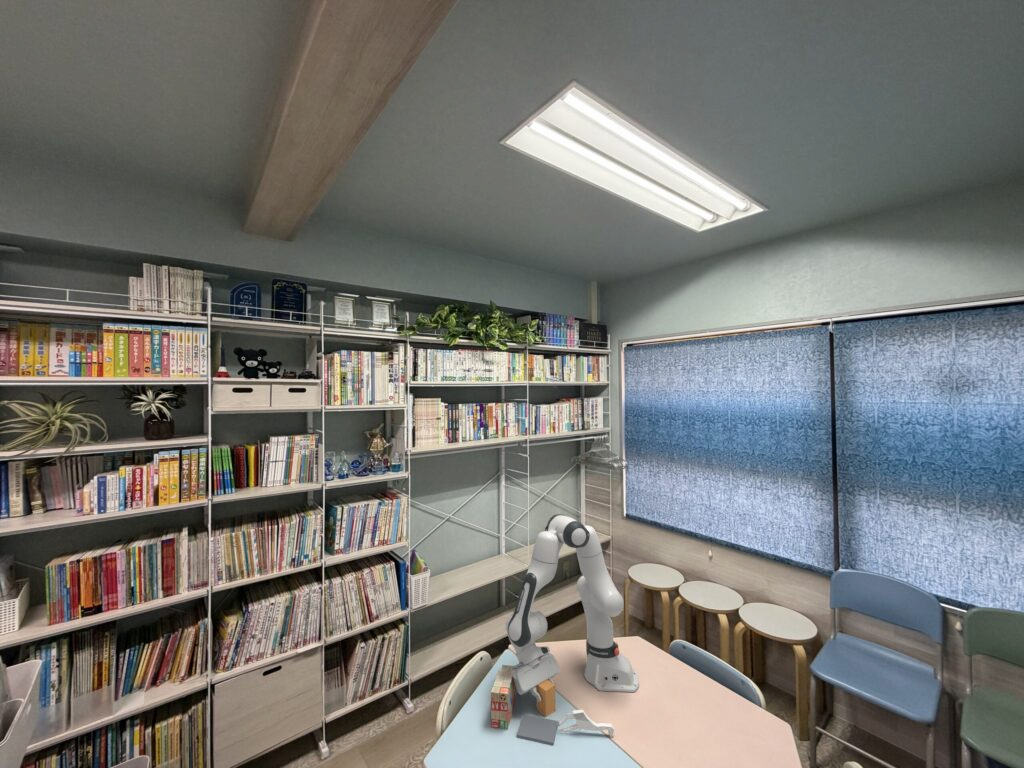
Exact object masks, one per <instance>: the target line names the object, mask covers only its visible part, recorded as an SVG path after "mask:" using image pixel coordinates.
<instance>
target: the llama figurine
mask: <svg viewBox="0 0 1024 768" xmlns="http://www.w3.org/2000/svg"><path fill="white" fill-rule="evenodd" d="M570 719H571V720H572V719H574V720H575V721H576V723H574V724H572V725H568V726H565V727H561V725H563V724H565V722H567V720H570ZM557 721H558V727H561V728H560V729H559V730H560V732H559V733H560V734H563V733H566V732H567V733H568V732H569V731H573V730H579V731H581V730H585V731H594V732H599V731H608V732H607V733H608V734H609V736H610V738H612V737H613V735H614V733H615V732H614V731H615V727H614V725H613V724H612V723H605V722H599V723H596V722H594V721H593V720H592V719H591V718H590V717H589V716H588V715H587V713H586V712H585V711H584V709H576V710H572V711H571V713H566V715H565V716H564V717H563V718H562V719H561V720H557Z"/></svg>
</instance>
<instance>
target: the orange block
mask: <svg viewBox="0 0 1024 768" xmlns="http://www.w3.org/2000/svg"><path fill="white" fill-rule="evenodd" d="M536 689H537V690H536V692H537V693H538V694H539V695H540V694H541V695H542V697H543V700H542V701H540V702H538V701H537V700H536V710H537V711H538V712H540V713H541V714H542V715H543V716H544V717H549V715H551V714H552V713H554V712H555V711H556V684H554V682H553V683H551V682H550V681H549V680H546V681H544V682H542V683H540V684H539V685H537V687H536Z"/></svg>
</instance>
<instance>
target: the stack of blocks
mask: <svg viewBox="0 0 1024 768" xmlns="http://www.w3.org/2000/svg"><path fill="white" fill-rule="evenodd" d="M513 666H514V665H509V664H502V665H501V669H500V670H498V671H497V672H496V676H495V681H494V682H493V686H492V688H491V691H490V714H491V715H490V728H493V729H502V730H508V729H509V726H510V723H511V719H512V715H513V711H514V710H513V709H514V705H515V701H516V699H517V698H516V697H517V694H518V691H517V689H516V685H515V682H514V679H513V676H512V674H511V670H512V668H513Z"/></svg>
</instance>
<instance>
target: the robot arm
mask: <svg viewBox="0 0 1024 768" xmlns="http://www.w3.org/2000/svg"><path fill="white" fill-rule="evenodd" d="M599 538H600V537H598V533H597V532H596V530H595V528H594V527H593V526H591V525H587V524H586V525H585V524H583V523H581V522H580V521H578V520H577V519H575V518H573V517H571V516H566V515H565V514H561V513H560V514H559V513H557V514H554V515H552V516H551V517H550V518H549V520H548V522H547V525H546V526H545V528H544V531H540V532H539V533H538V535H537V536H536V539H535V542H534V544H533V549H532V552H531V554H532V555H531V557H530V563H529V566H528V570H527V572H526V573H525V576H524V578H523V579H522V583H521V586H520V589H519V592H518V597H517V600H516V604H515V608H514V611H513V614H512V615H510V616H509V617H508V618H507V620H506V621H505V631H506V634H507V637H508V640H509V642H510V644H511V646H512V647H513V650H515V655H516V657H517V661H518V662H519V663H517V664H516V665H512V666H513V668H512V670H511V674H512V676H513V679H514V682H515V685H516V689H517V694H518V695H520V696H522V695H525V694H526V693H528V692H530V694H531V695H533V696H534V697H535V698H536V702H537V701H538V702H540V701H542V700H543V697H542V695H541V694H540V695H539V694H538V693H537V685H539V684H540V683H542V682H544V681H546V680H549V681H550V682H551V683H553V684H554V679H553V678H554V677H556V676H557V675H558V674H559V673H560V671H561V668H560V666H559V663H558V661H557V660H556V658H555V656H554V655H553V654H552V653H551V648H550V647H549V646H537V644H536V641H537V640H539V639H542V637H544V636H545V635H546V634H547V632H548V629H549V628H548V627H549V626H548V625H549V624H548V620H547V618H546V615H544V613H542V612H541V611H539V610H535V611H532V608H533V604H534V600H535V598H536V595H537V594H538V593H539V592H540V591H541V590H542V589H543V588H544V587H546V585H548V584H549V583H551V582H552V580H553V579H554V578H555V575H556V574H557V570H558V564H559V555H560V551H561V550H562V548H563V546H564V545H566V546H567V547H568V548H573V549H575V551H576V556H577V561H578V564H579V565H578V566H579V570H580V573H581V574H582V575H581V576H580V577H579V578H578V579H577V583H576V591H577V593H578V595H579V597H580V600H581V603H582V607H583V611H584V615H585V622H586V641H585V652H586V664H585V667H584V668H585V669H584V671H583V675H584V678H585V680H586V681H587V682H588V683H590V684H591V685H593V686H594V687H595V689H597V690H598V691H601V692H603V691H604V692H622V693H624V692H625V693H636V692H637V691H638V688H639V685H640V681H639V675H638V673H637V672H636V670H635V669H633V667H632V663H631V661H630V660H629V659H628V657H626V656H625V655H623V653H621V652H620V650H619V649H620V648H619V645H618V644H619V643H618V642H616V641H614V624H613V621H612V618H615V617H617V616H619V615H620V614H621V613H622V612H623V610H624V604H625V603H624V601H625V600H624V598H623V596H622V594H620V592H619V590H618V589H617V587H616V585H615V584H614V581H613V580H612V577H611V575H610V573H609V571H608V569H607V565H606V561H605V557H604V553H603V550H602V549H603V548H602V544H601V542H600V541H601V540H600V539H599ZM611 617H612V618H611Z"/></svg>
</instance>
